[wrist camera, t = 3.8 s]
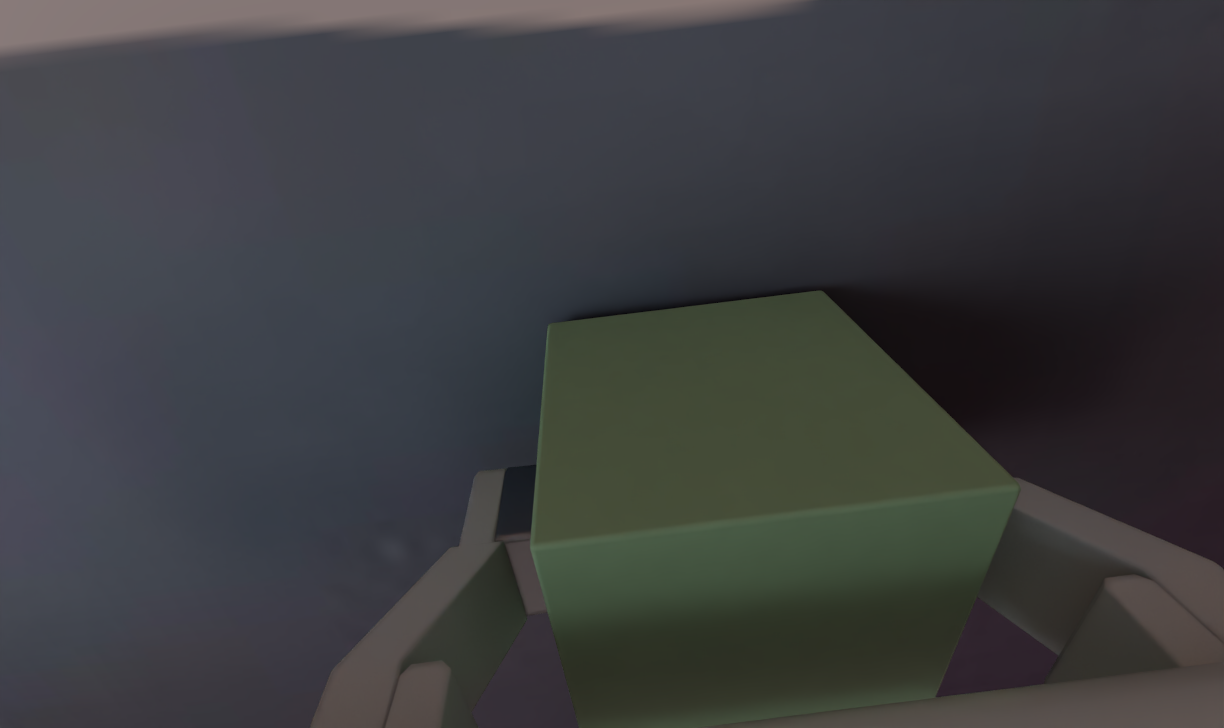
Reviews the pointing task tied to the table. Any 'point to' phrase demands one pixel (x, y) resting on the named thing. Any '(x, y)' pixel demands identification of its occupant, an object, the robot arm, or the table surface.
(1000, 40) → the table surface
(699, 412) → the green block
